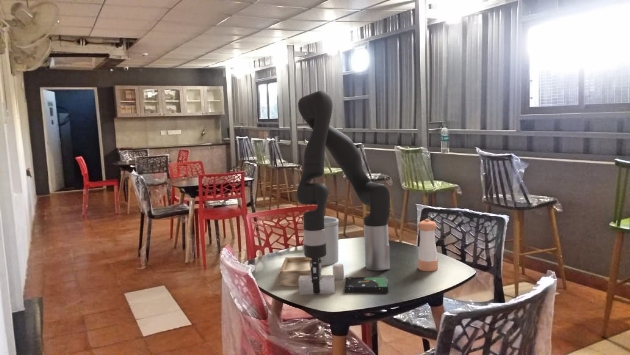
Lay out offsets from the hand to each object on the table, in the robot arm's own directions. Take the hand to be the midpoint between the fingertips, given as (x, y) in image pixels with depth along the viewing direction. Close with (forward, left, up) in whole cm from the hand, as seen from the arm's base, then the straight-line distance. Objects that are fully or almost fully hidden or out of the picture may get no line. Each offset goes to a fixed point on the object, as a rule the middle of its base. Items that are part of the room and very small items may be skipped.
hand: (317, 290), depth 164 cm
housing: (0, 0, -1) cm, 1 cm away
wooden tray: (+7, -15, 0) cm, 16 cm away
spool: (-7, -13, -1) cm, 15 cm away
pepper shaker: (-41, -22, -1) cm, 47 cm away
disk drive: (-17, -2, -1) cm, 17 cm away
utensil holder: (0, -36, -1) cm, 36 cm away
